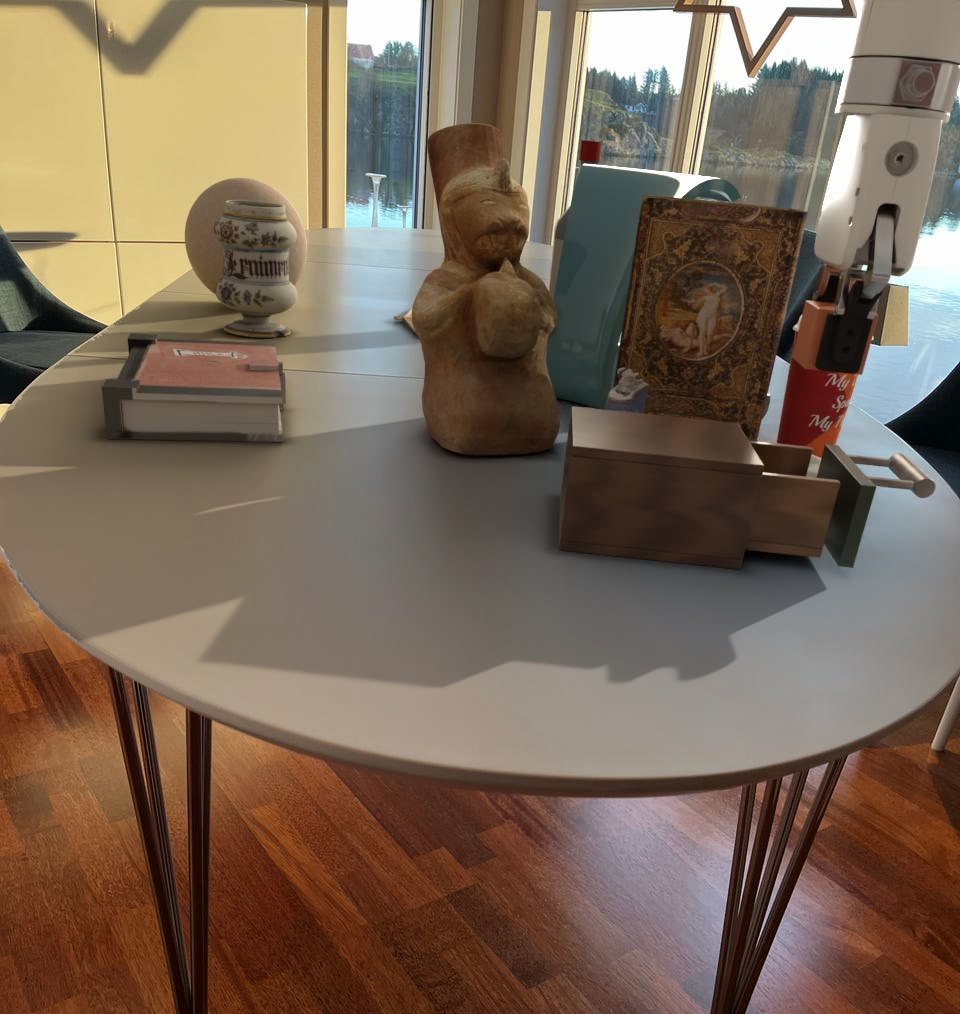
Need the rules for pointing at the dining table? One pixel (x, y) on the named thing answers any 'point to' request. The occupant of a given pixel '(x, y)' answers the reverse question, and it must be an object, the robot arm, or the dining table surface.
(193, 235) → the decorative sphere
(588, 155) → the liquor
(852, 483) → the drawer
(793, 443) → the coffee cup
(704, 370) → the book
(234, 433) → the book
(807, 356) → the block
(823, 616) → the dining table surface
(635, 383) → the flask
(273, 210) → the apothecary jar
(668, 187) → the curved teal holder
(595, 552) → the cabinet
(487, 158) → the ceramic vessel
